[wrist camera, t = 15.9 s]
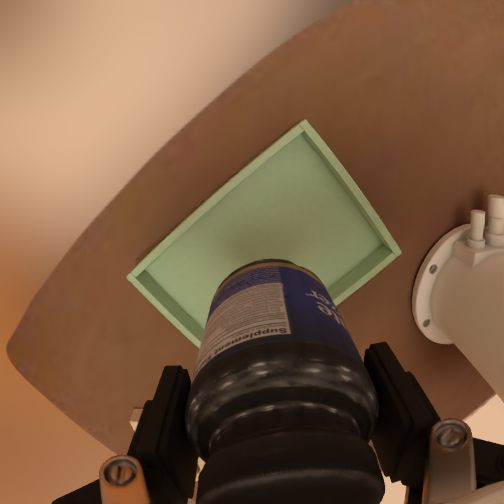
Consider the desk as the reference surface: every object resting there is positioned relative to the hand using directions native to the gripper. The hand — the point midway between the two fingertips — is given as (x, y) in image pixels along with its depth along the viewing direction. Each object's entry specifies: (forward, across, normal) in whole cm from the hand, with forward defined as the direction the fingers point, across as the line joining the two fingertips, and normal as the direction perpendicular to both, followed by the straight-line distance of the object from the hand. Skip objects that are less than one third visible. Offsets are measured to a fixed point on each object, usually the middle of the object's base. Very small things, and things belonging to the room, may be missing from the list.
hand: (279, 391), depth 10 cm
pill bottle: (+6, 0, 0) cm, 6 cm away
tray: (+16, 0, 0) cm, 16 cm away
